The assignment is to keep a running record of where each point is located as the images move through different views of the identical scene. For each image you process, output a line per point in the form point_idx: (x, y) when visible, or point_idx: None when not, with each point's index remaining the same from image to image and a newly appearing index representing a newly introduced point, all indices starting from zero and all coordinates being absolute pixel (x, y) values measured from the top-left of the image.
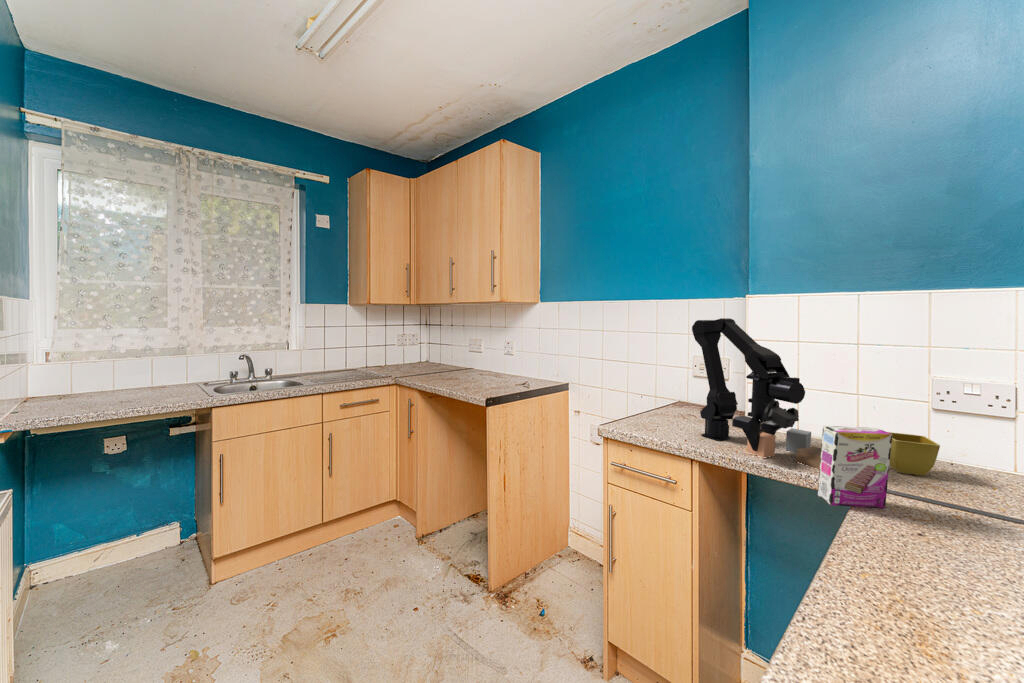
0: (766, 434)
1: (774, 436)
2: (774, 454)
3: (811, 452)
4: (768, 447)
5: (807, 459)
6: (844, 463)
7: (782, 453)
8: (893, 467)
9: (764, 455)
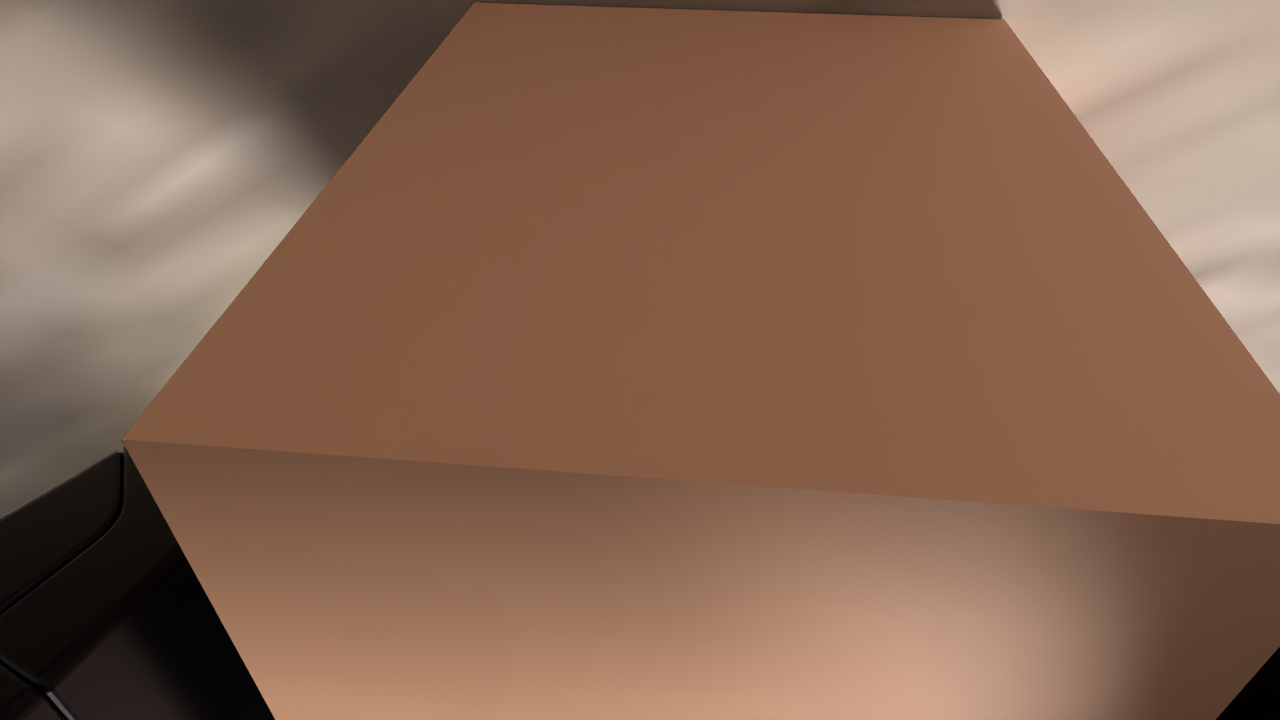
0: (484, 691)
1: (256, 414)
2: (468, 18)
3: None
4: (804, 152)
5: None
6: None
7: (68, 22)
8: None
9: (990, 52)
